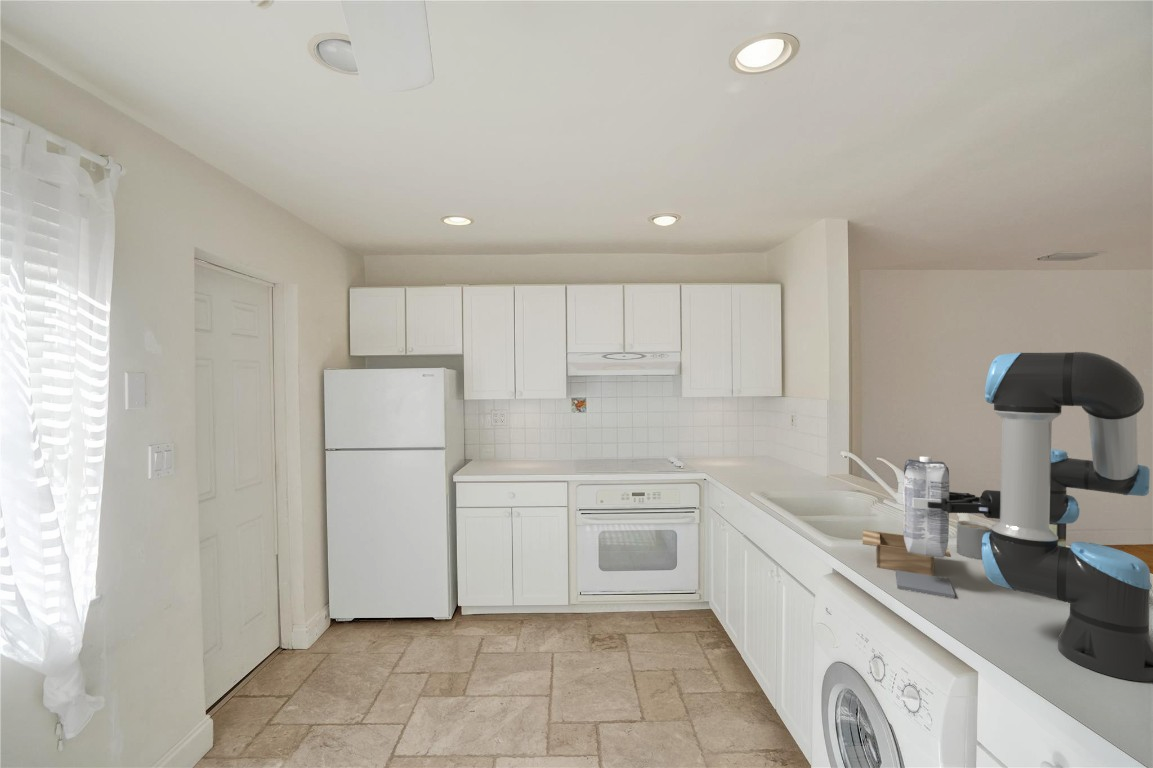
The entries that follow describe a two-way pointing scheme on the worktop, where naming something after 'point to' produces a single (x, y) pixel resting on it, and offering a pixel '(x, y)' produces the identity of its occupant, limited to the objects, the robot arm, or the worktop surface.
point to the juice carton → (925, 525)
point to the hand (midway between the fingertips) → (907, 498)
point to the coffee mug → (971, 538)
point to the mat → (924, 583)
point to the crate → (898, 553)
